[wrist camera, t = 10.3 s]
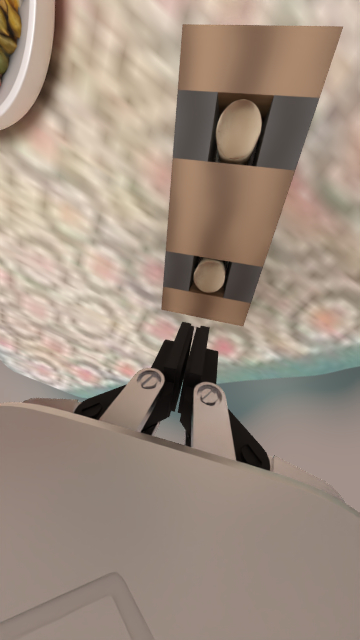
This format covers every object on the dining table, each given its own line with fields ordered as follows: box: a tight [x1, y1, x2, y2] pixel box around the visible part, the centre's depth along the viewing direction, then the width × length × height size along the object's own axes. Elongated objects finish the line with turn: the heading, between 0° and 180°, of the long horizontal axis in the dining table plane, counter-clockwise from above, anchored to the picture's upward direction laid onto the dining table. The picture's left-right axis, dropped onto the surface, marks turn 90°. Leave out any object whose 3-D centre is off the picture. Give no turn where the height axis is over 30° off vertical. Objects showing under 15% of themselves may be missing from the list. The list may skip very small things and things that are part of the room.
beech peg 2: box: [216, 99, 262, 165], centre depth 21 cm, size 4×4×8 cm
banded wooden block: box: [162, 24, 343, 326], centre depth 25 cm, size 12×26×8 cm, turn 173°
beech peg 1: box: [194, 257, 225, 293], centre depth 28 cm, size 4×4×8 cm
